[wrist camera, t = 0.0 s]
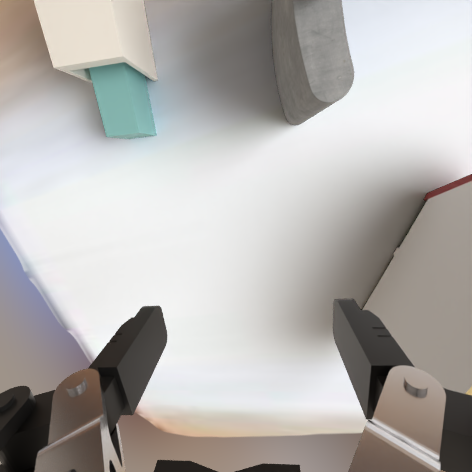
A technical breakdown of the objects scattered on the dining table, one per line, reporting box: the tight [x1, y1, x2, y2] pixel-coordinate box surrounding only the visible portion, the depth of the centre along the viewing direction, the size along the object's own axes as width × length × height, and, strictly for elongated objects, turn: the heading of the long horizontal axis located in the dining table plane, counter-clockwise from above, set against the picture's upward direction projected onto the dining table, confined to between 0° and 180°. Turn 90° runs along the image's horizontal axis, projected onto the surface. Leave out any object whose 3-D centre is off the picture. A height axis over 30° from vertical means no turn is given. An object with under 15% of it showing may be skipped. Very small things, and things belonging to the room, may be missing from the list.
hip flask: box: [271, 0, 354, 125], centre depth 23 cm, size 16×4×20 cm, turn 11°
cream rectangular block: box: [34, 0, 158, 83], centre depth 29 cm, size 10×8×10 cm
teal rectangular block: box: [89, 62, 156, 139], centre depth 32 cm, size 14×4×6 cm, turn 6°
